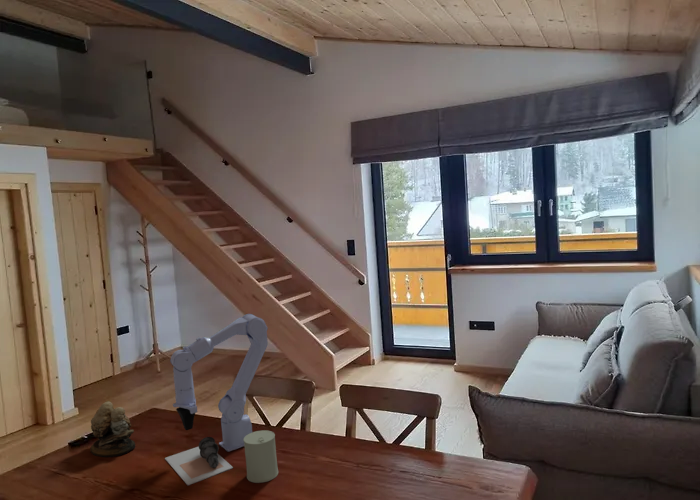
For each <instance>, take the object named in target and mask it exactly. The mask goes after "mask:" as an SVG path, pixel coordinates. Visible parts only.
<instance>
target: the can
mask: <svg viewBox="0 0 700 500" xmlns="http://www.w3.org/2000/svg"><path fill="white" fill-rule="evenodd" d="M243 447H244V455H245V456H244V457H245V466H246V479H247V480H248V481H249V482H251V483H255V484H260V483H267V482H269V481H272V480H273V479H276V477H277V476H278V475H279V469H278V461H277V460H278V459H277V447H276V433H275V432H274V431H271V430H267V429H266V430H265V429H264V430H256V431H252V433H250V434H248V435H246V436H245V437H244V446H243Z"/></svg>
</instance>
